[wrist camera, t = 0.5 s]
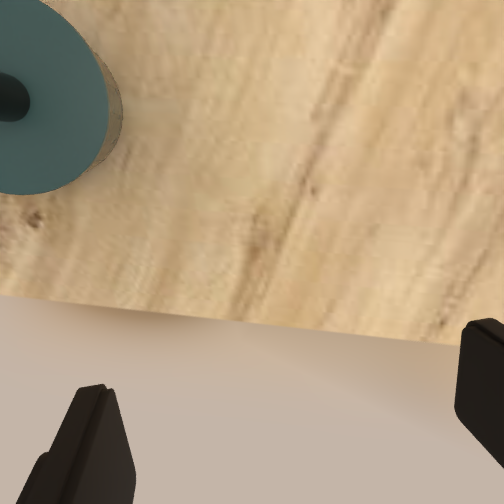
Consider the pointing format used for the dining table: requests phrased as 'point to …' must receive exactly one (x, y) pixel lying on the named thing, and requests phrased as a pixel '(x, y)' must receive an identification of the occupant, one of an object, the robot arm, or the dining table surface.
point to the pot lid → (47, 100)
